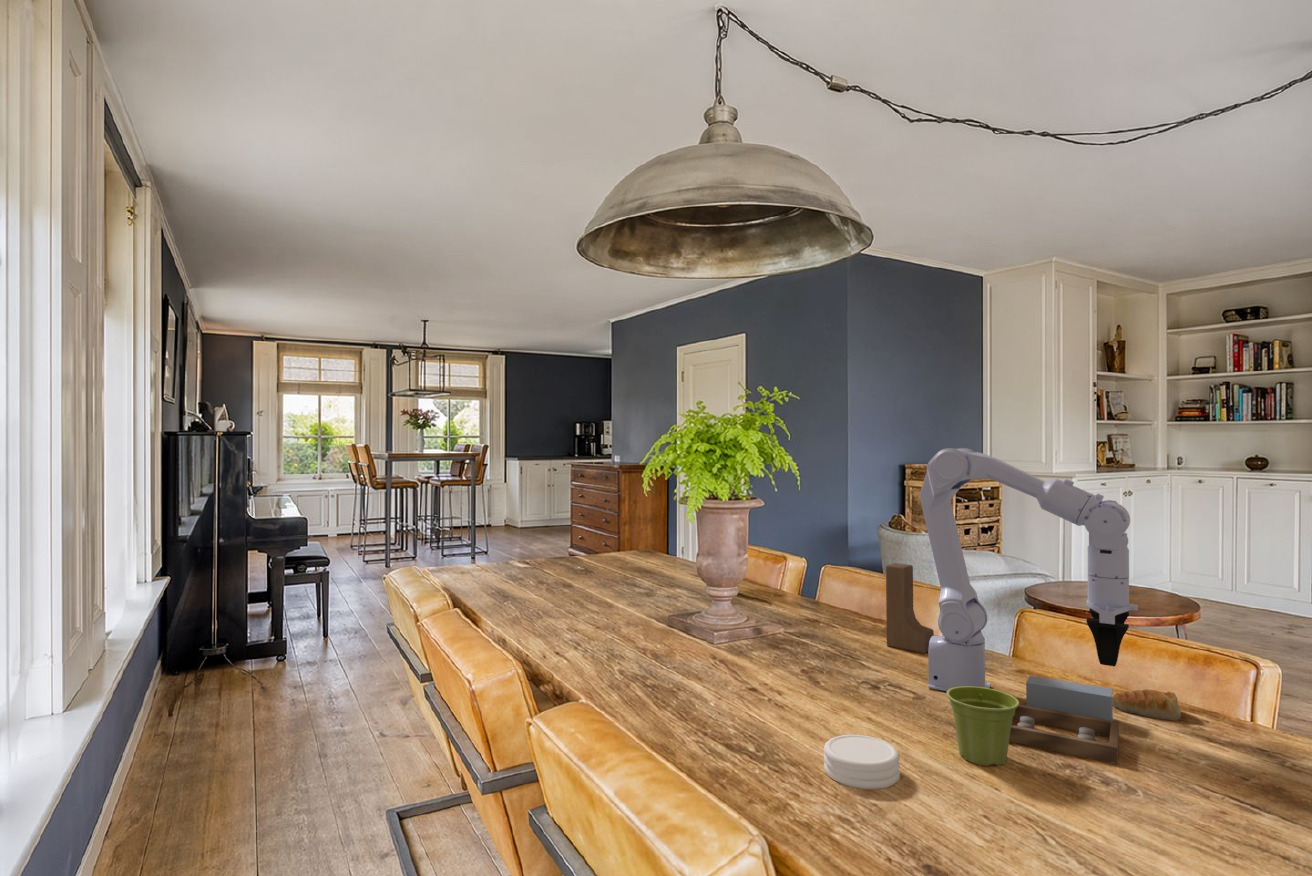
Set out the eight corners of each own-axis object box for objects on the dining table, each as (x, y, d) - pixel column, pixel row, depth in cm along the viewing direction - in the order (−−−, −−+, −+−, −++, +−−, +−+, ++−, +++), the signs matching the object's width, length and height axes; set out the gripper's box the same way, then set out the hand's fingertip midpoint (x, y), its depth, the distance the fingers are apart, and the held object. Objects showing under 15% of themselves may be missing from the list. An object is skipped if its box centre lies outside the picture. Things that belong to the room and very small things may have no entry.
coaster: (809, 774, 97) (809, 748, 97) (847, 751, 104) (847, 727, 104) (877, 799, 89) (876, 772, 89) (913, 773, 96) (912, 747, 96)
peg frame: (992, 737, 107) (991, 723, 107) (1003, 714, 116) (1003, 701, 116) (1117, 763, 98) (1117, 748, 98) (1119, 736, 107) (1118, 722, 107)
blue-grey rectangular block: (1026, 712, 118) (1026, 683, 118) (1030, 704, 122) (1029, 675, 122) (1111, 728, 111) (1111, 697, 111) (1112, 719, 115) (1112, 688, 115)
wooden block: (934, 650, 153) (933, 567, 154) (925, 654, 150) (924, 570, 150) (895, 642, 160) (894, 562, 160) (885, 646, 157) (885, 565, 157)
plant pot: (958, 738, 107) (957, 681, 107) (1026, 755, 101) (1025, 694, 101) (938, 759, 100) (937, 698, 100) (1010, 779, 94) (1009, 714, 94)
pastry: (1115, 715, 117) (1115, 691, 117) (1107, 701, 123) (1107, 679, 123) (1184, 723, 113) (1184, 699, 113) (1173, 709, 119) (1172, 686, 119)
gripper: (1138, 586, 107) (1138, 675, 107) (1137, 571, 119) (1137, 651, 119) (1083, 580, 111) (1084, 667, 111) (1088, 567, 123) (1088, 645, 123)
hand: (1108, 658), depth 115 cm, fingers open, 7 cm apart
